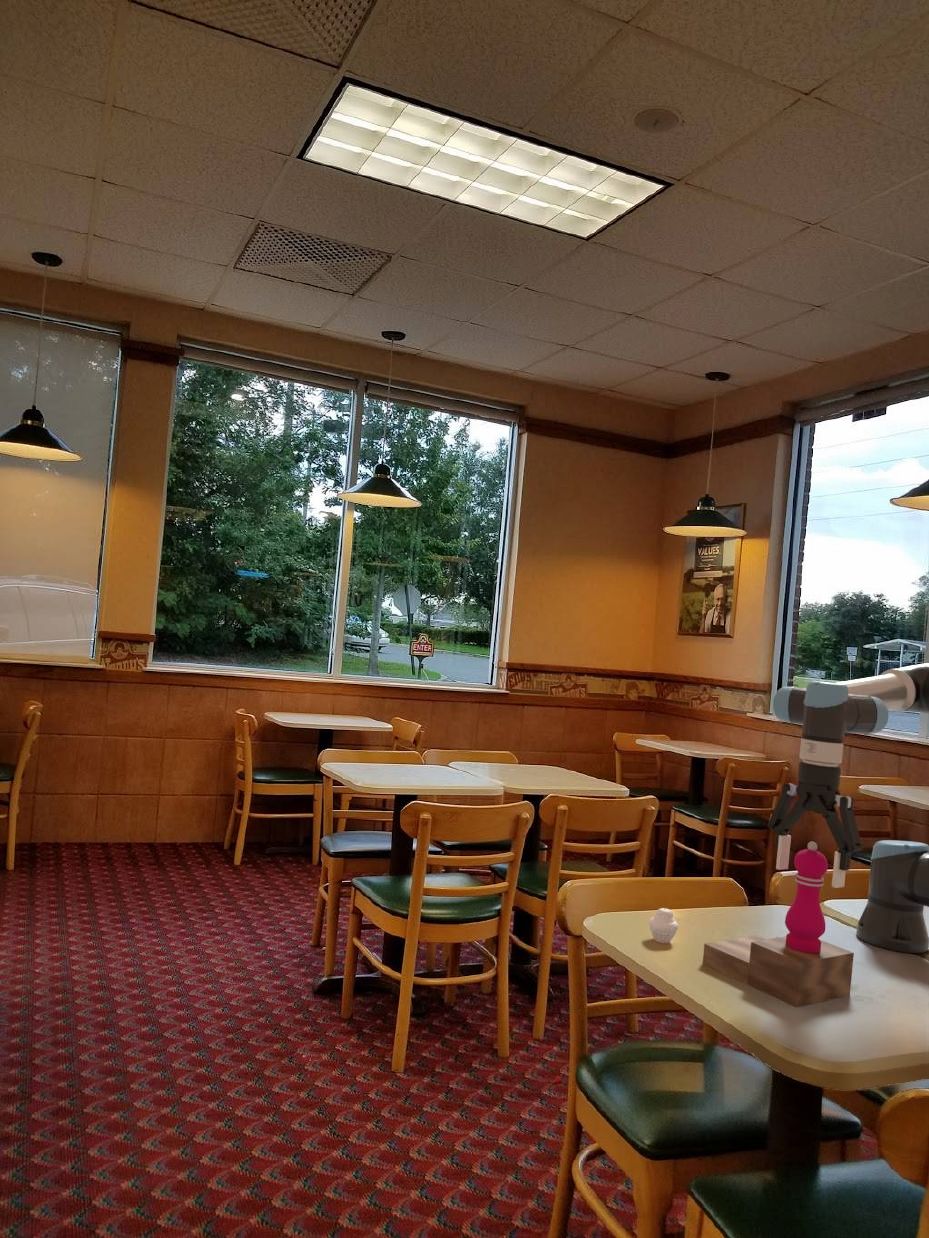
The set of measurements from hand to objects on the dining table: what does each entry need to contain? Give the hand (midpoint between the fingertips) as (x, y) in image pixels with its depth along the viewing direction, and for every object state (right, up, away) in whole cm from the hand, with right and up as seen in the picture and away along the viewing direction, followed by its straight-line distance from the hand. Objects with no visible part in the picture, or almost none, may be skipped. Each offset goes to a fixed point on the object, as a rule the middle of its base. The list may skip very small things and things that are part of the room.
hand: (809, 877), depth 174 cm
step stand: (-5, -21, +4) cm, 22 cm away
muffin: (-23, -20, +21) cm, 37 cm away
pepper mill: (-1, -13, 0) cm, 13 cm away
